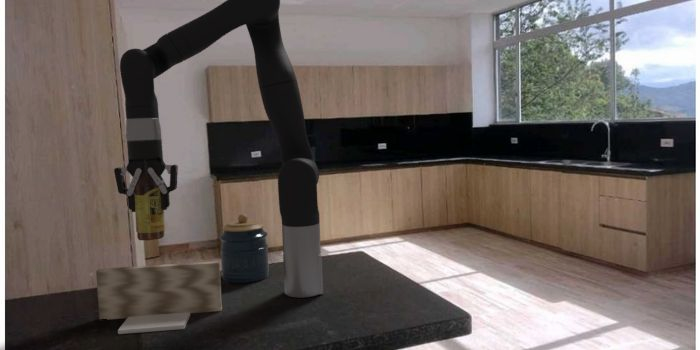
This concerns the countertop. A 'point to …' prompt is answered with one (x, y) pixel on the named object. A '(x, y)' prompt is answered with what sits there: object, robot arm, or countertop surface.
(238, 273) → the canister
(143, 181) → the sauce bottle
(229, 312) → the countertop surface
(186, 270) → the birch board
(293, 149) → the robot arm
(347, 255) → the countertop surface
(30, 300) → the countertop surface
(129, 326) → the white plate
